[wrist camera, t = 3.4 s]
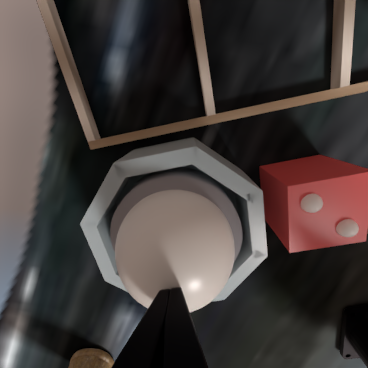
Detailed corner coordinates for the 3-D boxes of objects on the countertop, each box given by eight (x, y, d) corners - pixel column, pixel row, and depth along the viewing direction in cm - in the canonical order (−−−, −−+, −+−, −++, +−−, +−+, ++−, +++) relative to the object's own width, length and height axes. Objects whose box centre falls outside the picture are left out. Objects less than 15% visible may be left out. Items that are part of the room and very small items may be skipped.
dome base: (317, 239, 15) (368, 288, 11) (135, 268, 16) (116, 321, 12) (321, 110, 12) (394, 107, 8) (94, 157, 13) (51, 177, 9)
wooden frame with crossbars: (476, 67, 11) (496, 63, 10) (96, 147, 13) (90, 149, 12) (536, -173, 8) (572, -201, 7) (35, -24, 10) (23, -35, 9)
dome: (238, 252, 14) (272, 346, 8) (141, 267, 14) (111, 365, 9) (224, 154, 12) (260, 192, 6) (109, 177, 12) (41, 231, 6)
